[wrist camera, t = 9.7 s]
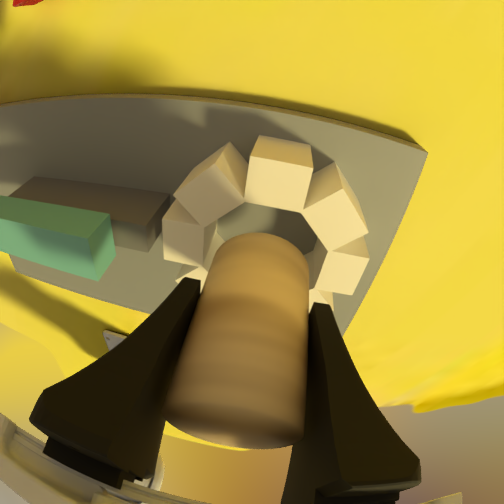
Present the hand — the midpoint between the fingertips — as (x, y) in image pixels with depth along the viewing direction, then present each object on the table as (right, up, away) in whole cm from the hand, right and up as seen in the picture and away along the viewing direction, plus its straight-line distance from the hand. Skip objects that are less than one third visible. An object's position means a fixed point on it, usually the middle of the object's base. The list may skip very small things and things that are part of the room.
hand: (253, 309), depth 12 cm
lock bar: (-13, +4, +2) cm, 14 cm away
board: (-7, +4, +7) cm, 11 cm away
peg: (0, +1, +2) cm, 2 cm away
